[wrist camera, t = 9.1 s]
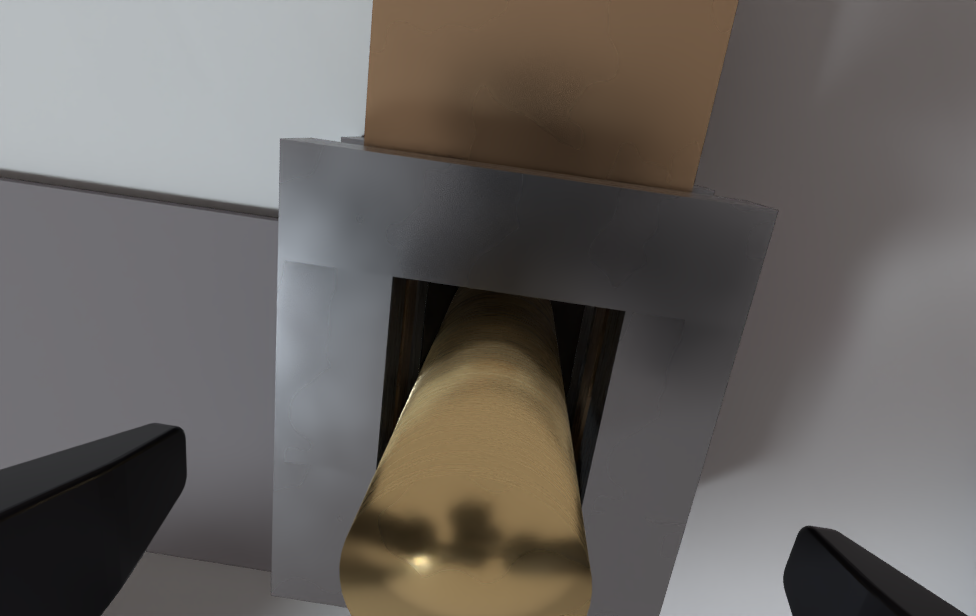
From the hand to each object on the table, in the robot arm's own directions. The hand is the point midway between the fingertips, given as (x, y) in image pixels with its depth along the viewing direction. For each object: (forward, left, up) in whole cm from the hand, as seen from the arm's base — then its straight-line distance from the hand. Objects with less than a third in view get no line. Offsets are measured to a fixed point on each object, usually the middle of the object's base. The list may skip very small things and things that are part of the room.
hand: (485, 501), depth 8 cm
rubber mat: (-11, -4, -8) cm, 15 cm away
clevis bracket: (0, +2, -8) cm, 9 cm away
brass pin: (0, 0, -8) cm, 8 cm away
